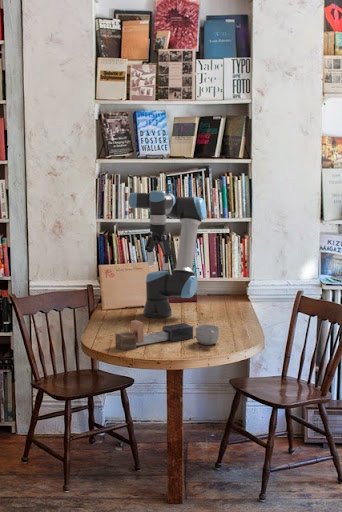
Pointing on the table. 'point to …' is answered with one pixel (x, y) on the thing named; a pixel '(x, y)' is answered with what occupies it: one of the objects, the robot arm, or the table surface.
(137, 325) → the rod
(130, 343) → the socket
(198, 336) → the teacup
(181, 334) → the sleeve
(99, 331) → the table surface
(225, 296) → the table surface
